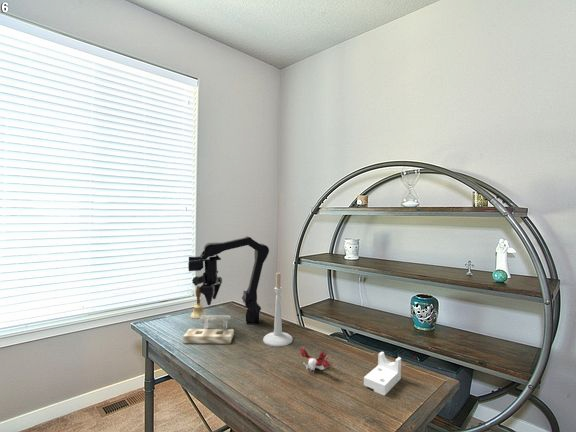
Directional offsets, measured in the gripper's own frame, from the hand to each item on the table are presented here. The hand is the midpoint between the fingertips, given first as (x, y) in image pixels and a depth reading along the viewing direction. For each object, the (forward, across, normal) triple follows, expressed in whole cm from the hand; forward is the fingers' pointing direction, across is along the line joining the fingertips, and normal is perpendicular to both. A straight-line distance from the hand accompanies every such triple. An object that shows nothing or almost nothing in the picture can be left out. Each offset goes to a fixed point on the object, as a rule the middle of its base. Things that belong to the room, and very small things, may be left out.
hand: (211, 301), depth 154 cm
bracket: (+14, +45, +70) cm, 84 cm away
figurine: (+13, +37, +48) cm, 62 cm away
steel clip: (+12, +2, +2) cm, 13 cm away
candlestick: (+13, +13, +32) cm, 37 cm away
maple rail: (+12, +14, +2) cm, 19 cm away
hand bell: (+12, -14, -11) cm, 22 cm away
